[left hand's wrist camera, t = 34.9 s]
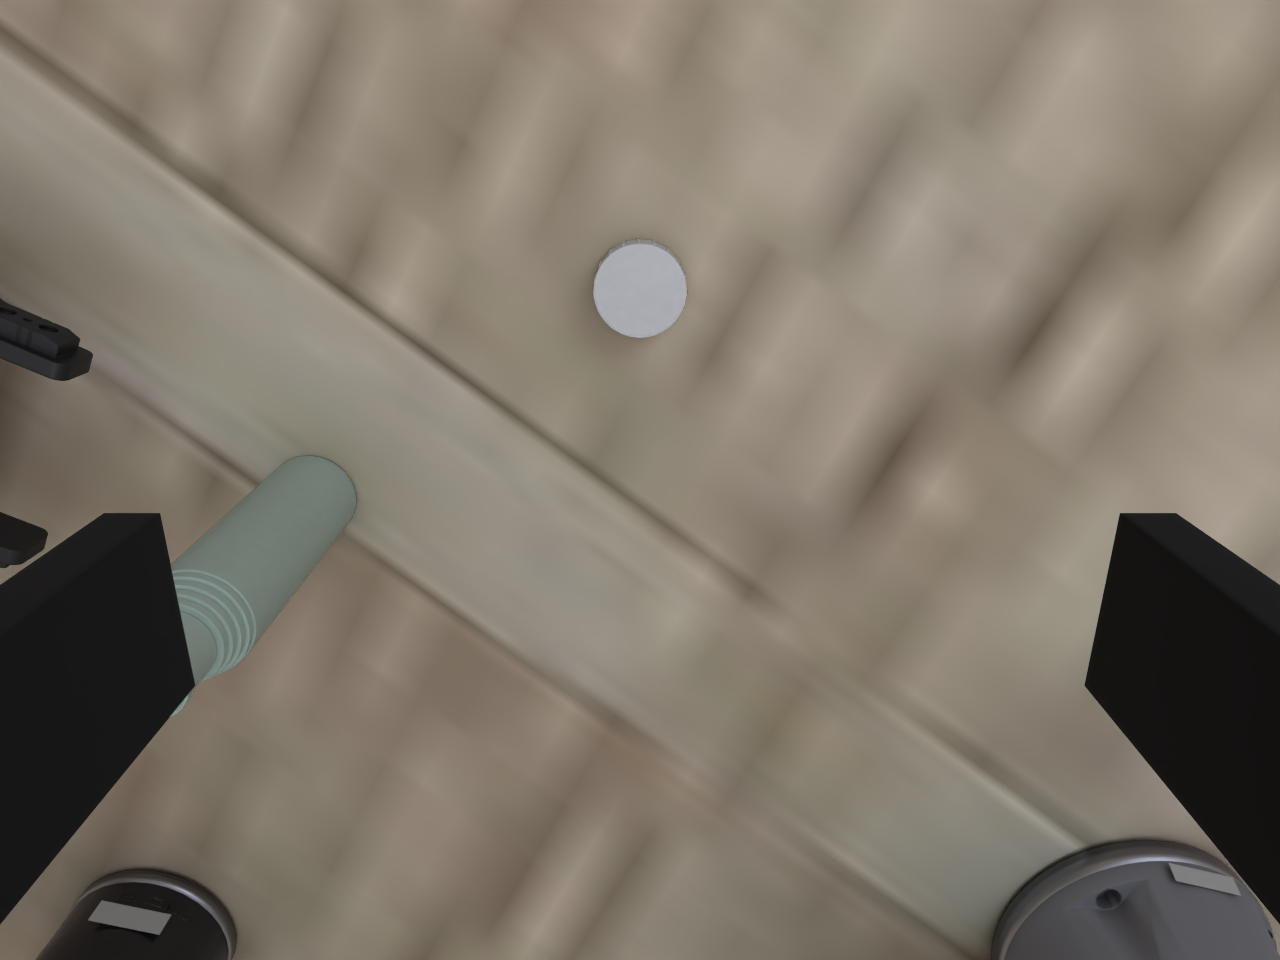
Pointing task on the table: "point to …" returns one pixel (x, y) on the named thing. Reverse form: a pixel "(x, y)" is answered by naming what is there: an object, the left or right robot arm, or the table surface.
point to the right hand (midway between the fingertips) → (56, 462)
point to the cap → (640, 288)
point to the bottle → (257, 561)
